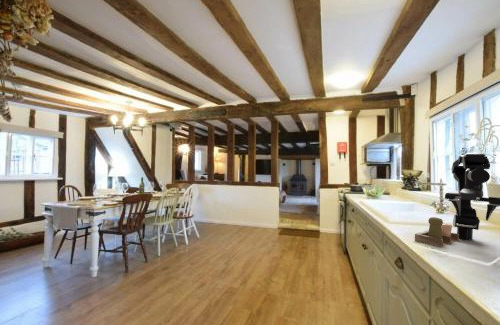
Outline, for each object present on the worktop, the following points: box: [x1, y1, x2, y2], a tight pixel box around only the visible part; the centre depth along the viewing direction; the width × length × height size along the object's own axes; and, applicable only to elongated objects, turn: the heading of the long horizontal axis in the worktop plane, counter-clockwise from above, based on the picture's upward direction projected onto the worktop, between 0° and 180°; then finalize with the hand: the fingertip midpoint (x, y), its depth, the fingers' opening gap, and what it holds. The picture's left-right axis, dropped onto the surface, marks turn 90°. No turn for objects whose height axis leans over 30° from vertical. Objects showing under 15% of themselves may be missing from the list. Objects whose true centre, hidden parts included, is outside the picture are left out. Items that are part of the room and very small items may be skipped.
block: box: [441, 222, 453, 236], centre depth 115 cm, size 5×5×7 cm
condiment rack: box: [414, 229, 460, 248], centre depth 113 cm, size 20×10×4 cm, turn 124°
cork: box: [427, 216, 444, 239], centre depth 110 cm, size 6×6×11 cm
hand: (472, 218), depth 107 cm, fingers open, 9 cm apart
